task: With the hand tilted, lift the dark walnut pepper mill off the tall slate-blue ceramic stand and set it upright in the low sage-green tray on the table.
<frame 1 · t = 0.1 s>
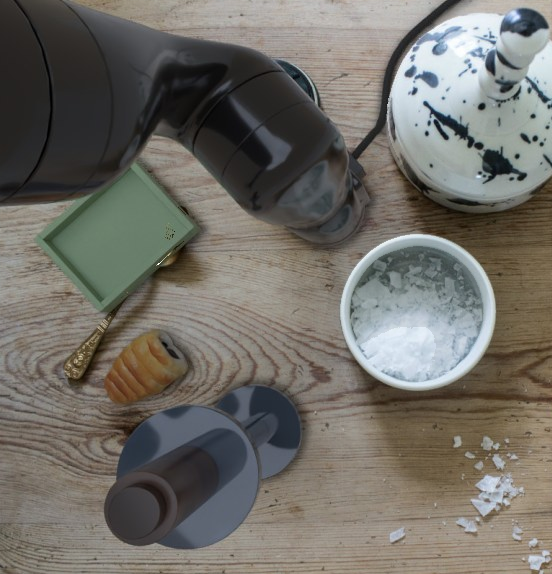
tray: (123, 235, 73), on the table
stand: (256, 431, 73), on the table
pepper mill: (187, 477, 52), point 21 cm above the table, touching stand
pastry: (153, 367, 73), on the table
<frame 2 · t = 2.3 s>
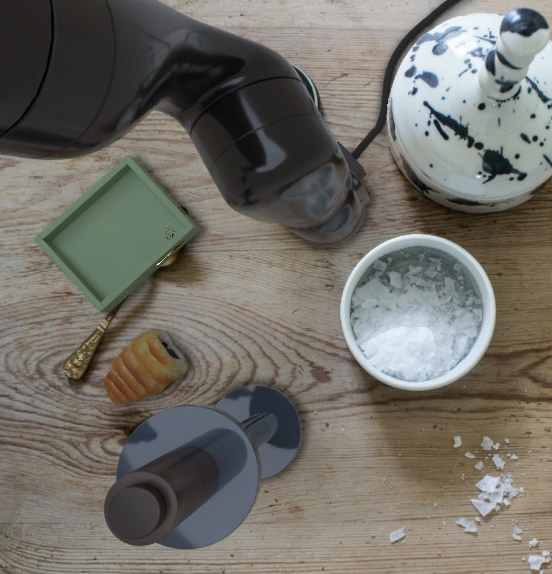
nothing on the table moved.
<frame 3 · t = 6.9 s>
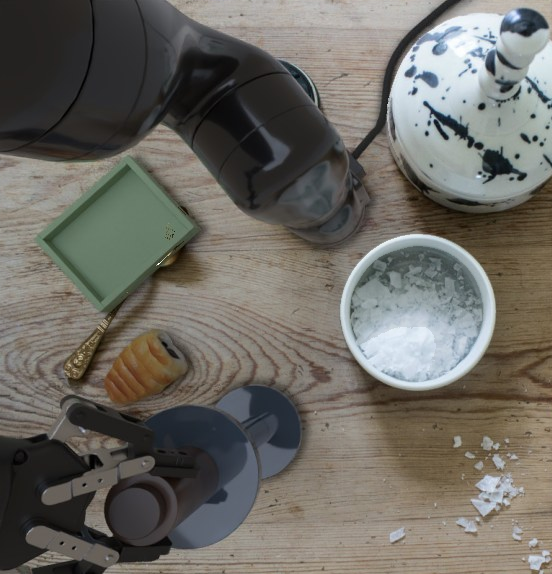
hand: (180, 505, 46), 27 cm above the table, tool tilted 45°, fingers closed on pepper mill, 5 cm apart
pepper mill: (187, 477, 52), point 21 cm above the table, touching gripper, stand
everything else where it was.
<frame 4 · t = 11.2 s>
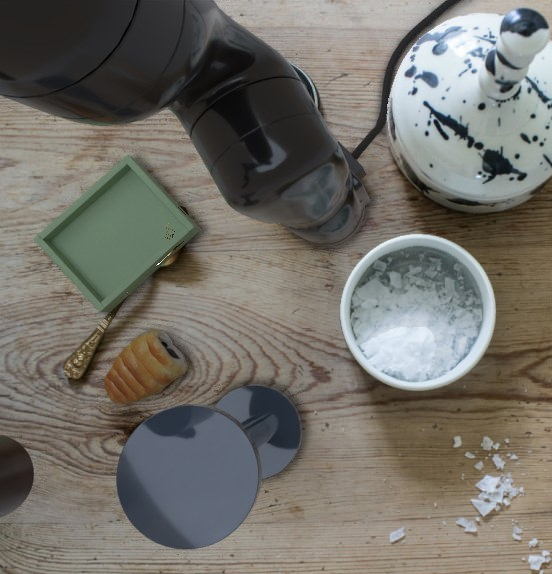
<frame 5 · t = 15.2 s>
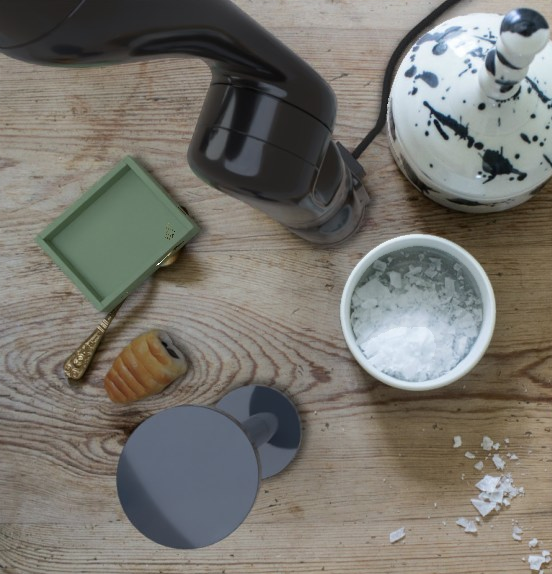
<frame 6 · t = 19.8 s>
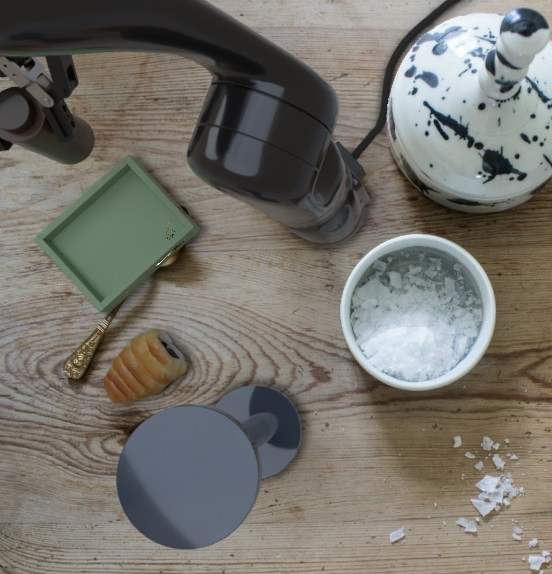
hand: (38, 142, 59), 15 cm above the table, tool tilted 45°, fingers closed on pepper mill, 5 cm apart
pepper mill: (70, 140, 64), point 9 cm above the table, touching gripper
everything else where it was.
when the fingers open (6 cm above the table, at t = 23.7 s): pepper mill stays where it is, resting on tray.
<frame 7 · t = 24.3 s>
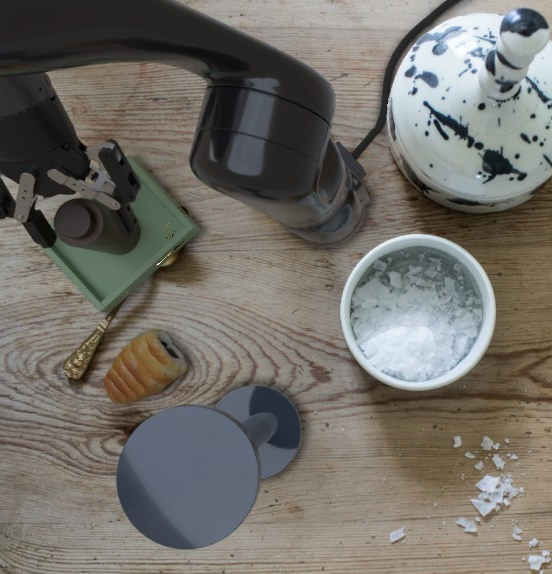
hand: (91, 238, 66), 7 cm above the table, tool tilted 45°, fingers open, 8 cm apart
pepper mill: (118, 233, 73), point 1 cm above the table, touching tray
everything else where it was.
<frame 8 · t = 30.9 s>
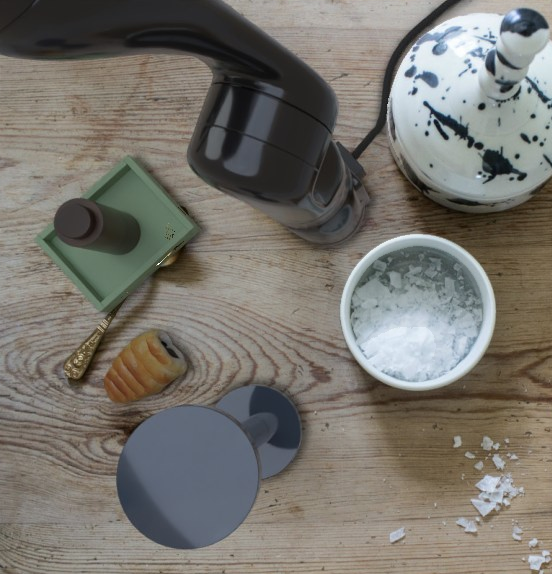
nothing on the table moved.
at the end: pepper mill inside the target area in the tray (0.2 cm from its centre), point 0.8 cm above the tray's base; pepper mill tilted 0°; the gripper is holding nothing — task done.
